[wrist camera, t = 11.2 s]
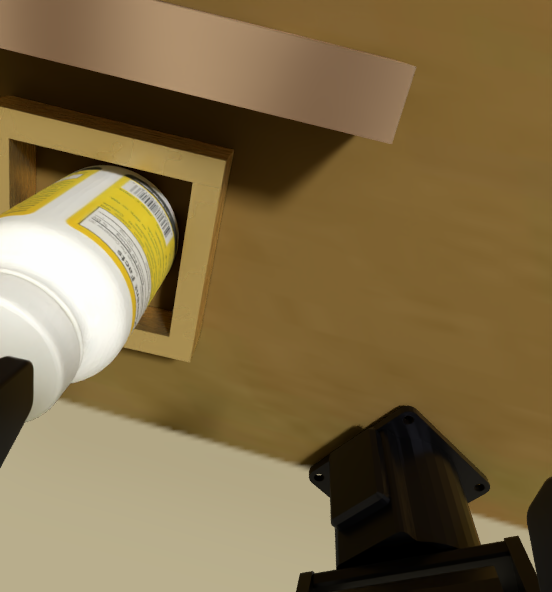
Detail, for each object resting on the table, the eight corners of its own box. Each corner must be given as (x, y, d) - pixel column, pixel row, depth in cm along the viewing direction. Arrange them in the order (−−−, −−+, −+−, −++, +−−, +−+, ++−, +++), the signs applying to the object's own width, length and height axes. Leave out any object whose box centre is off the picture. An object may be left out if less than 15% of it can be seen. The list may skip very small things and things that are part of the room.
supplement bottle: (47, 269, 23) (-125, 416, 14) (58, 145, 20) (-142, 228, 11) (169, 303, 23) (77, 468, 14) (194, 185, 20) (102, 296, 12)
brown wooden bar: (391, 59, 18) (416, 67, 14) (374, 118, 19) (391, 144, 14) (-134, -73, 17) (-291, -112, 13) (-127, -6, 18) (-270, -19, 14)
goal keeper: (234, 149, 20) (225, 160, 18) (199, 337, 24) (189, 362, 22) (10, 95, 19) (-21, 101, 18) (11, 294, 23) (-14, 316, 21)
